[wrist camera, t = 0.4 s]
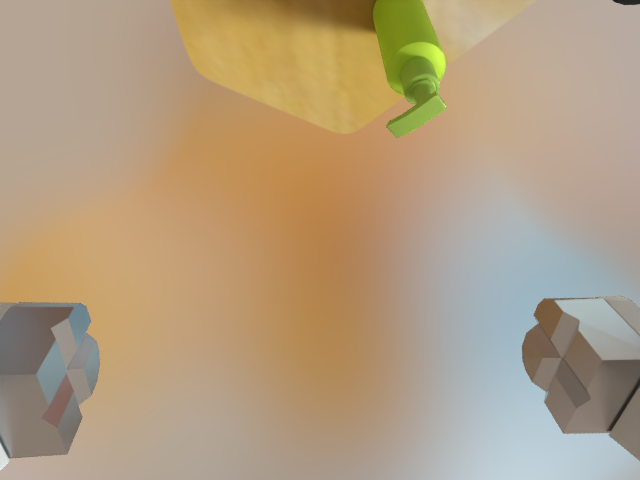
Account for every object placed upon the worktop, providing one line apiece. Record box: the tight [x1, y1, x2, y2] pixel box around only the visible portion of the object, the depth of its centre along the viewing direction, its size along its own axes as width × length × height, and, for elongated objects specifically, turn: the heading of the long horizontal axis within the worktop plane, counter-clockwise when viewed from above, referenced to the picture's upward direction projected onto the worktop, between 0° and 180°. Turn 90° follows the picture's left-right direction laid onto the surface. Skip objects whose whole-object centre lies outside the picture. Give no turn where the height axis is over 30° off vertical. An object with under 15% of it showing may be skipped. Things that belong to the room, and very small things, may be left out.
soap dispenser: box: [373, 0, 447, 137], centre depth 48 cm, size 6×7×20 cm
